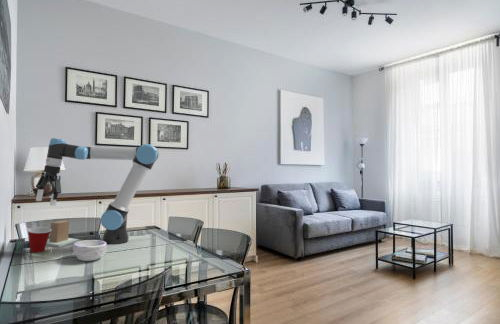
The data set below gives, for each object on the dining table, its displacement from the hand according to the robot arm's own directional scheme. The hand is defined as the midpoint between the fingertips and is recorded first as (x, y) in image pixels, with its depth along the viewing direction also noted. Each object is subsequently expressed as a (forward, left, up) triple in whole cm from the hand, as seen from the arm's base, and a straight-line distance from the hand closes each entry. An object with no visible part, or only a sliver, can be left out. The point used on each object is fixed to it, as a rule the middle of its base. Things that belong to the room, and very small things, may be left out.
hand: (45, 203), depth 172 cm
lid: (-2, -9, -24) cm, 26 cm away
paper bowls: (-37, +7, -24) cm, 45 cm away
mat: (-2, -9, -24) cm, 26 cm away
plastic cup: (-7, +9, -24) cm, 27 cm away
